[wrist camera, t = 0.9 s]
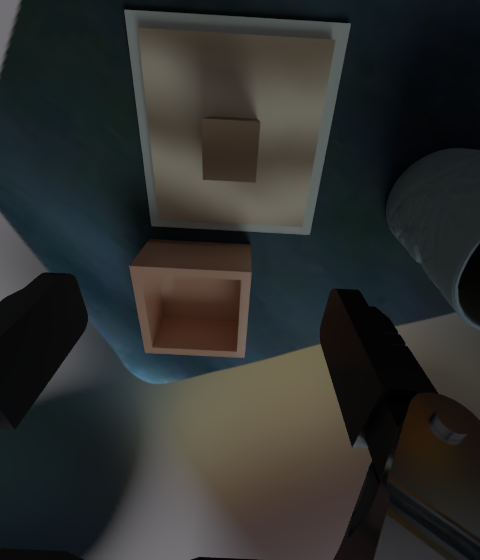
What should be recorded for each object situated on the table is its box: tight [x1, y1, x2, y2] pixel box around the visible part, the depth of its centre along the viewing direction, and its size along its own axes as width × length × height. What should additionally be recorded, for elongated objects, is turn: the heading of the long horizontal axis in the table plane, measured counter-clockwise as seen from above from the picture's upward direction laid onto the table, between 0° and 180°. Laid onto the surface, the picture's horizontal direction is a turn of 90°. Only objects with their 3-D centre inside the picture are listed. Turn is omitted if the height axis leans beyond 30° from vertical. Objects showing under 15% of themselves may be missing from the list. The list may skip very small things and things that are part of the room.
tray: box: [124, 10, 351, 235], centre depth 22 cm, size 15×15×1 cm
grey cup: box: [386, 148, 480, 330], centre depth 20 cm, size 10×10×12 cm
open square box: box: [129, 239, 252, 358], centre depth 28 cm, size 10×10×6 cm
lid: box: [138, 28, 336, 227], centre depth 20 cm, size 13×13×6 cm
